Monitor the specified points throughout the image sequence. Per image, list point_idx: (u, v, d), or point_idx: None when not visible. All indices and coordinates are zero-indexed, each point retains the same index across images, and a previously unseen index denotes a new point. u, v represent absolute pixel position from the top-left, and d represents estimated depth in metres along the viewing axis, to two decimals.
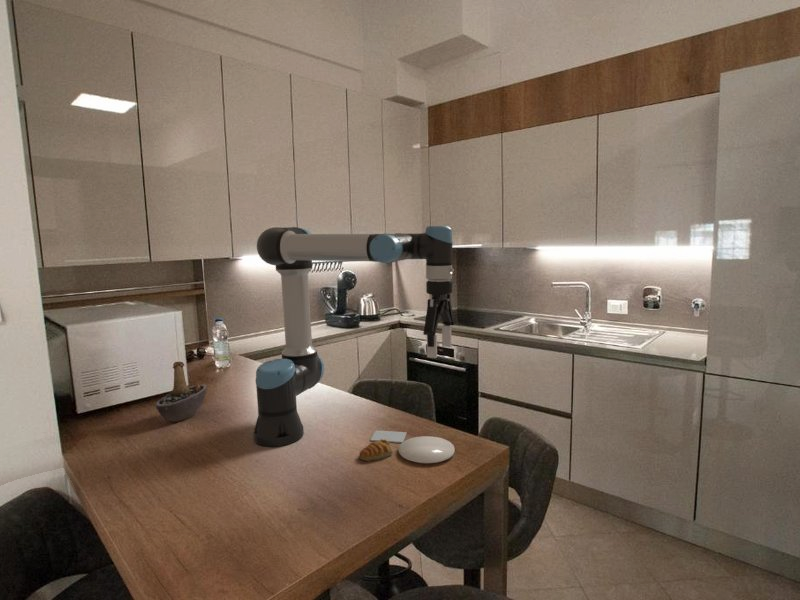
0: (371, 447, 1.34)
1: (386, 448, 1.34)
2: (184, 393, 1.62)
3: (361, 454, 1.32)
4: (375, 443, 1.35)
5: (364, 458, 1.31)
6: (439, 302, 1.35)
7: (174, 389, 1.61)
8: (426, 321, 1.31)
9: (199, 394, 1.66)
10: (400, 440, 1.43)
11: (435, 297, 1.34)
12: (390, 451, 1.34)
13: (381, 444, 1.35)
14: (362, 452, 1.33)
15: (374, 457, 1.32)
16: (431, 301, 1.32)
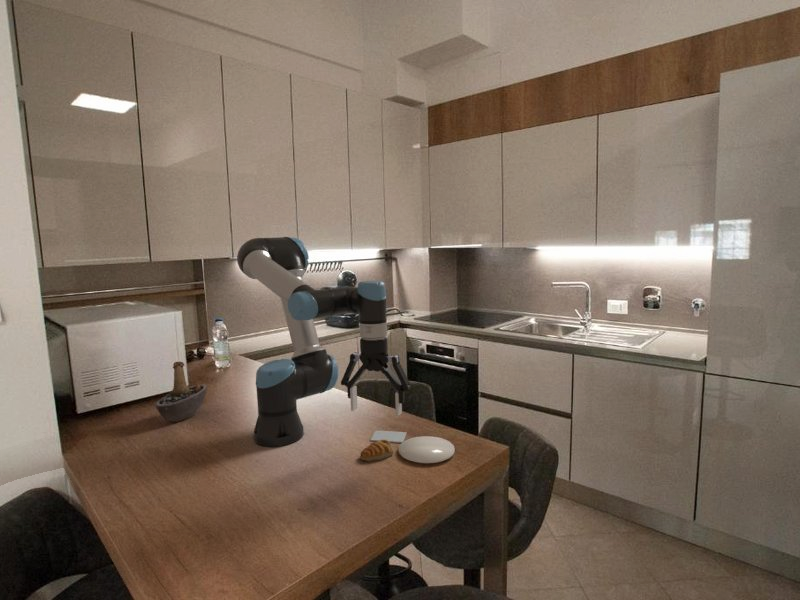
0: (372, 447, 1.33)
1: (387, 448, 1.34)
2: (184, 393, 1.62)
3: (362, 454, 1.32)
4: (376, 443, 1.35)
5: (366, 458, 1.31)
6: (362, 359, 1.31)
7: (174, 389, 1.61)
8: None
9: (199, 394, 1.66)
10: (400, 440, 1.43)
11: None
12: (391, 451, 1.34)
13: (382, 444, 1.34)
14: (363, 452, 1.32)
15: (375, 457, 1.31)
16: None
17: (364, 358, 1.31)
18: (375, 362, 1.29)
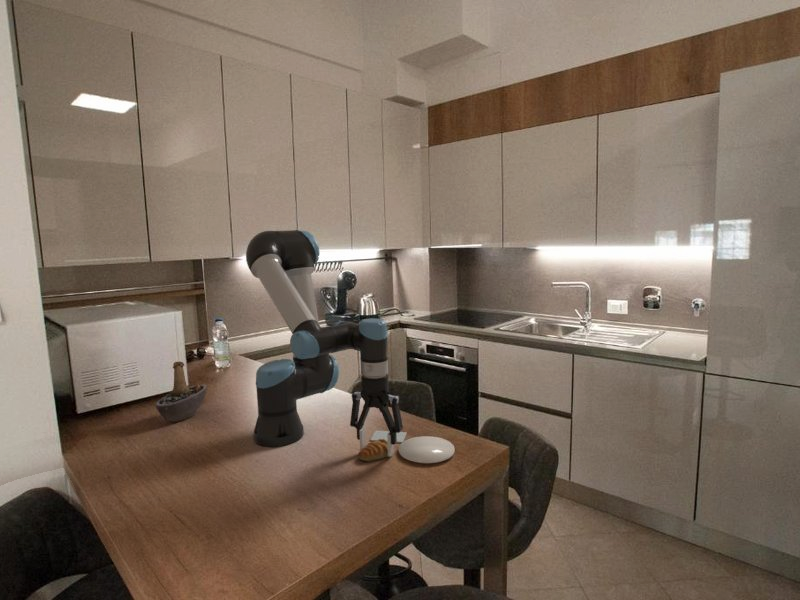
0: (370, 447, 1.33)
1: (385, 447, 1.34)
2: (184, 393, 1.62)
3: (361, 454, 1.32)
4: (374, 443, 1.35)
5: (364, 458, 1.31)
6: (363, 395, 1.33)
7: (174, 389, 1.61)
8: None
9: (199, 394, 1.66)
10: (400, 440, 1.43)
11: None
12: None
13: (380, 444, 1.34)
14: (361, 452, 1.32)
15: (374, 457, 1.31)
16: None
17: (365, 394, 1.33)
18: (376, 399, 1.31)
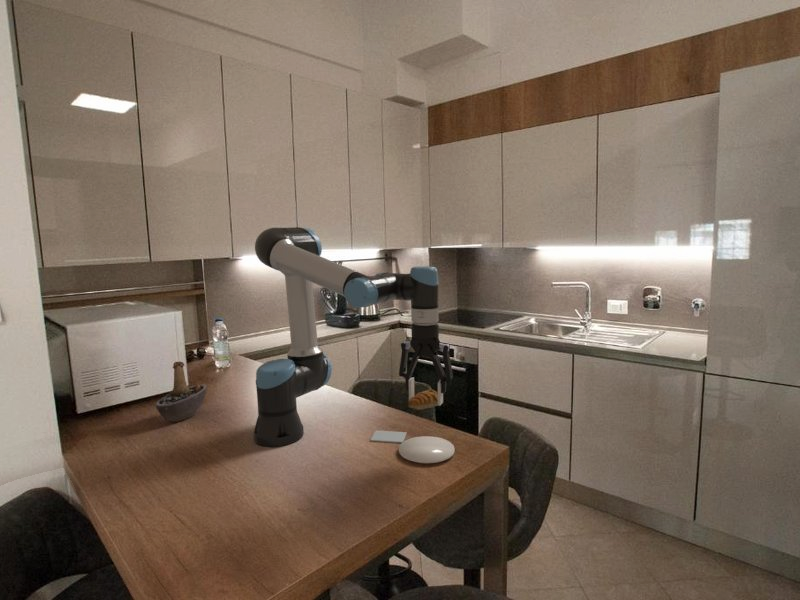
0: (419, 396, 1.32)
1: (435, 396, 1.33)
2: (184, 393, 1.62)
3: (411, 403, 1.31)
4: (423, 392, 1.34)
5: (415, 406, 1.30)
6: (413, 344, 1.32)
7: (174, 389, 1.61)
8: None
9: (199, 394, 1.66)
10: (400, 440, 1.43)
11: None
12: None
13: (429, 393, 1.33)
14: (411, 401, 1.31)
15: (424, 405, 1.30)
16: None
17: (415, 343, 1.32)
18: (427, 347, 1.30)
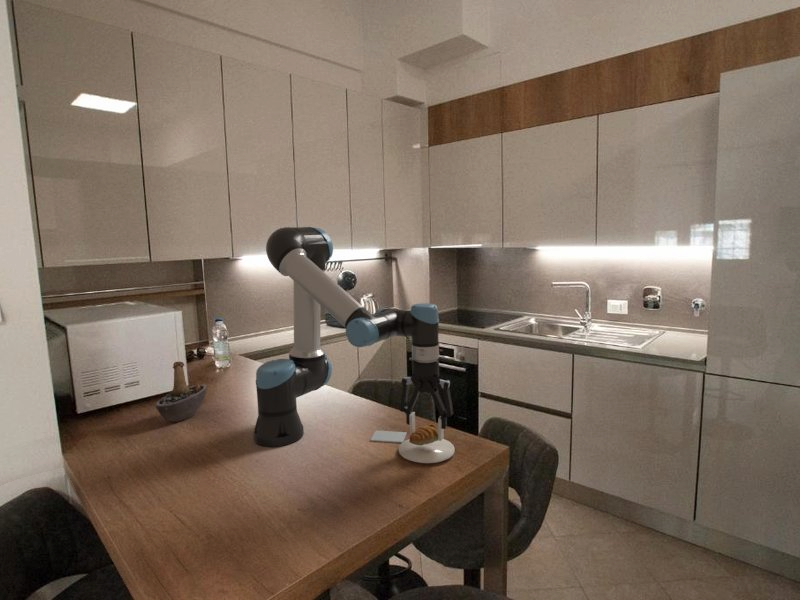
0: (420, 431, 1.34)
1: (435, 432, 1.34)
2: (184, 393, 1.62)
3: (412, 438, 1.32)
4: (424, 427, 1.35)
5: (416, 442, 1.31)
6: (414, 380, 1.33)
7: (174, 389, 1.61)
8: None
9: (199, 394, 1.66)
10: (400, 440, 1.43)
11: None
12: None
13: (430, 428, 1.35)
14: (412, 436, 1.33)
15: (425, 441, 1.32)
16: None
17: (416, 379, 1.33)
18: (427, 384, 1.31)
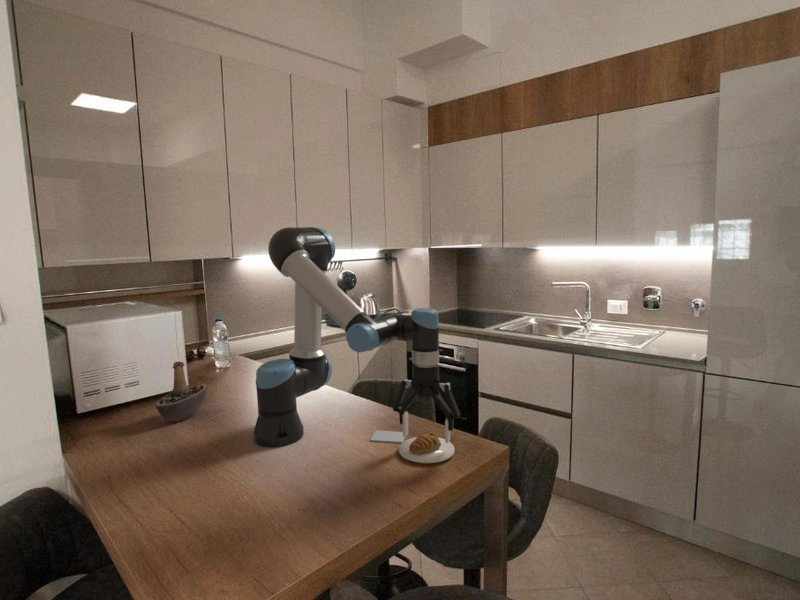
0: (420, 440, 1.34)
1: (435, 441, 1.34)
2: (184, 393, 1.62)
3: (412, 447, 1.32)
4: (424, 436, 1.36)
5: (416, 451, 1.31)
6: (414, 385, 1.34)
7: (174, 389, 1.61)
8: None
9: (199, 394, 1.66)
10: (400, 440, 1.43)
11: None
12: (439, 443, 1.35)
13: (430, 437, 1.35)
14: (412, 445, 1.33)
15: (425, 450, 1.32)
16: None
17: (416, 384, 1.33)
18: (427, 389, 1.31)
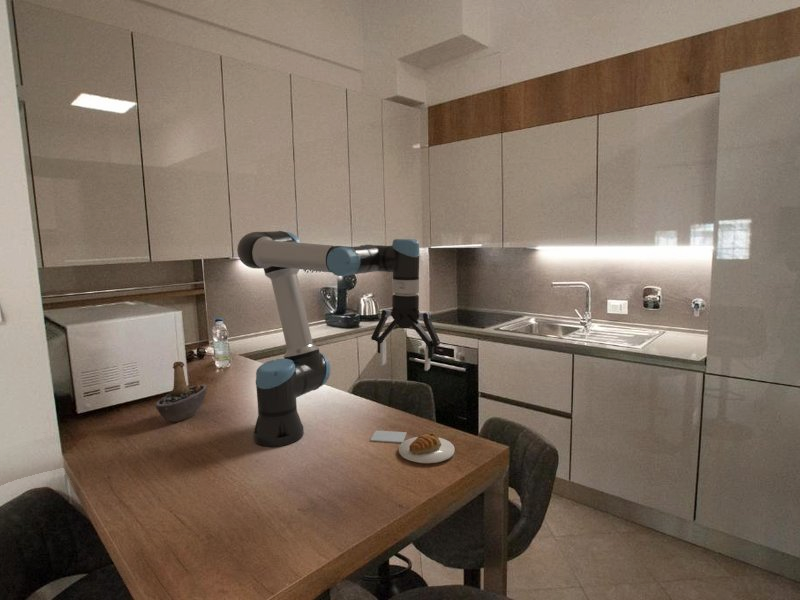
0: (420, 440, 1.34)
1: (435, 441, 1.34)
2: (184, 393, 1.62)
3: (412, 448, 1.32)
4: (424, 436, 1.36)
5: (416, 451, 1.31)
6: (393, 314, 1.35)
7: (174, 389, 1.61)
8: None
9: (199, 394, 1.66)
10: (400, 440, 1.43)
11: None
12: (439, 444, 1.35)
13: (430, 437, 1.35)
14: (412, 446, 1.33)
15: (425, 450, 1.32)
16: None
17: (395, 314, 1.35)
18: (406, 318, 1.33)
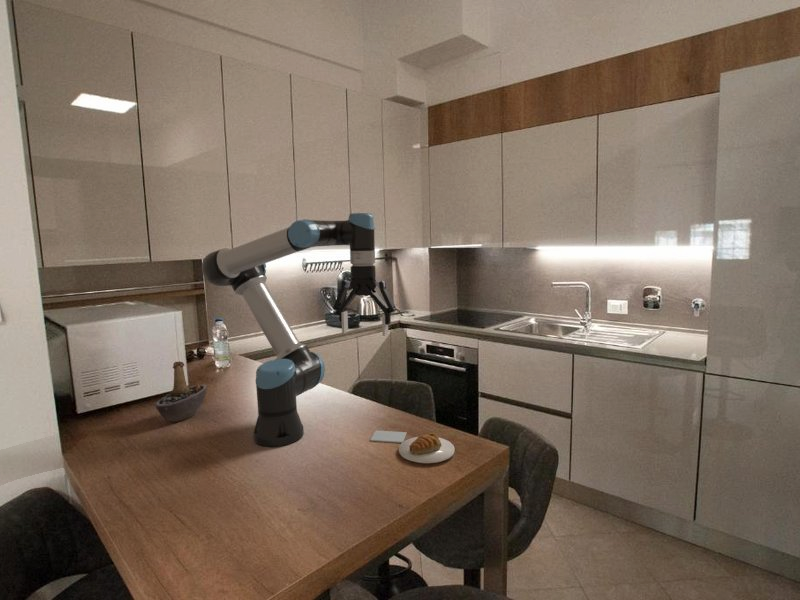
0: (420, 440, 1.34)
1: (436, 441, 1.34)
2: (184, 393, 1.62)
3: (412, 448, 1.32)
4: (424, 436, 1.35)
5: (416, 452, 1.31)
6: (352, 285, 1.45)
7: (174, 389, 1.61)
8: None
9: (199, 394, 1.66)
10: (400, 440, 1.43)
11: None
12: (439, 444, 1.35)
13: (430, 437, 1.35)
14: (412, 446, 1.33)
15: (425, 450, 1.32)
16: None
17: (354, 284, 1.45)
18: (364, 287, 1.43)
